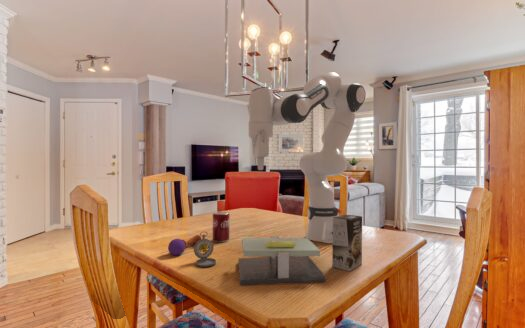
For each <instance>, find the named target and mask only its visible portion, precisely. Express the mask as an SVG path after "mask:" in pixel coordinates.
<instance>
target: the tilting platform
mask: <svg viewBox="0 0 525 328" xmlns="http://www.w3.org/2000/svg"><path fill="white" fill-rule="evenodd" d="M241 247H242V253H243V257H270V256H277V255H278V252H289V257H300V256H309V257H320V256H321V250H320V249H319V247H317V245H315V244H314V242H313V241H312V240H309V239H308V238H306V237H279V238H270V237H242V238H241Z"/></svg>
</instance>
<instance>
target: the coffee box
mask: <svg viewBox="0 0 525 328" xmlns="http://www.w3.org/2000/svg"><path fill="white" fill-rule="evenodd" d="M331 256H332V260H331V262H332V265H331V267H333V268H336V269H340V270H343V271H346V272H351V271H353V270H355V269H356V268H358V267H360V266H362V265H363V216H361V215H353V214H342V215H338V216H337V217H333V243H332V255H331Z"/></svg>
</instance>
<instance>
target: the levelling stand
mask: <svg viewBox="0 0 525 328" xmlns="http://www.w3.org/2000/svg"><path fill="white" fill-rule="evenodd" d="M269 238H280V237H279V236H269ZM238 273H239V286H240V285H242V286H258V284H266V285H280V284H279V283H290V284H311V282H312V283H326V276H325V275H324V273H323V272H322V270H321V269H320V268H319V267H318V266H317V265H316V264H315V262H314V261H313V260H312V259H311V257H310V256H289V252H278V255H277V256H267V257H244V258H243V257H242V258H241V257H240V258H238ZM277 283H278V284H277Z"/></svg>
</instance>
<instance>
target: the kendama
mask: <svg viewBox="0 0 525 328" xmlns="http://www.w3.org/2000/svg"><path fill="white" fill-rule="evenodd" d="M201 239H202V236H200V234H195V235H194V236H193V237H191V238H190V239H188V240H183V239H181V238H175V239H172V240H171V241H170V242H169V243H168V246H167V249H168V250H167V251H168V253H170V254H171V255H172V256H180V255H182V254H183V253H184V251H185V250H186V248H187V246H188V245H193V244H194V245H195V244H196V243H197V242H198V241H199V240H201Z"/></svg>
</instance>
